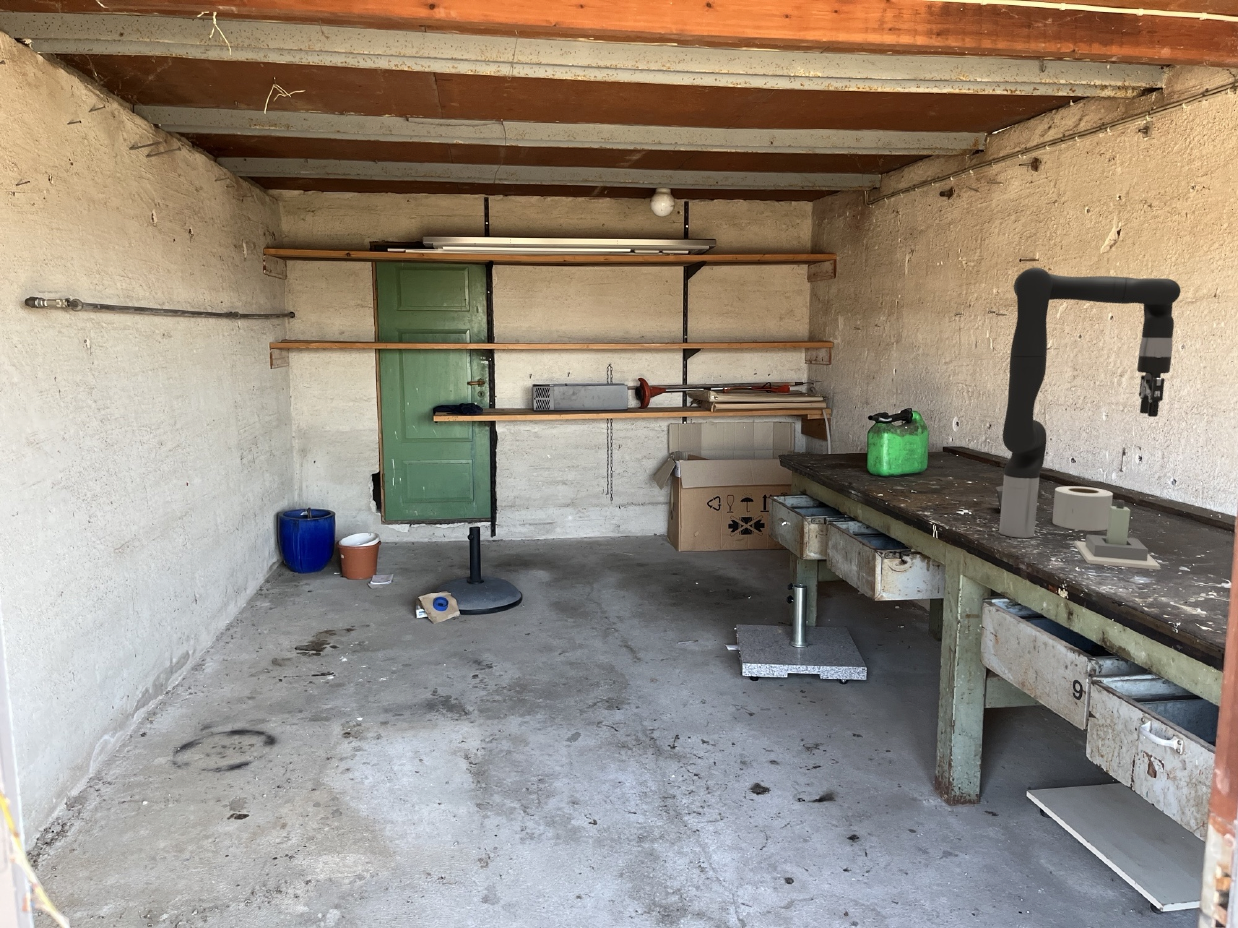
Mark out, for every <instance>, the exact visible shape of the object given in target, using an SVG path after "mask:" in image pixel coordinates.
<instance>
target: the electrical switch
mask: <svg viewBox="0 0 1238 928" xmlns="http://www.w3.org/2000/svg"><path fill="white" fill-rule="evenodd" d="M995 492H996V496H997V500H998V505H999V509H1000V510H1001V505H1002V493H1003V485H1000V486H996V487H995Z"/></svg>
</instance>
